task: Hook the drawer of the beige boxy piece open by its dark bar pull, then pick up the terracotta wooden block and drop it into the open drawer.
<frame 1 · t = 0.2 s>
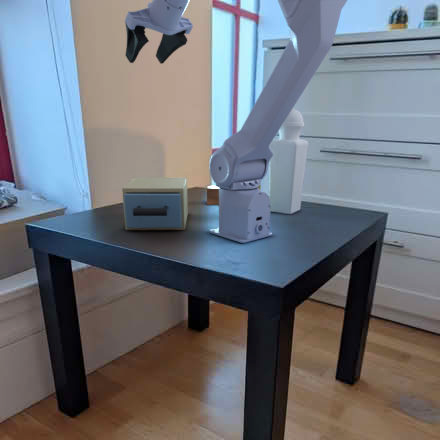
hand: (144, 59, 86), 31 cm above the table, tool tilted 45°, fingers open, 7 cm apart
block: (214, 203, 105), on the table
pill bottle: (245, 218, 92), on the table
beige boxy piece: (158, 221, 88), on the table
drawer: (155, 207, 83), point 4 cm above the table, slide at 0.5 cm
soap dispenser: (284, 211, 98), on the table
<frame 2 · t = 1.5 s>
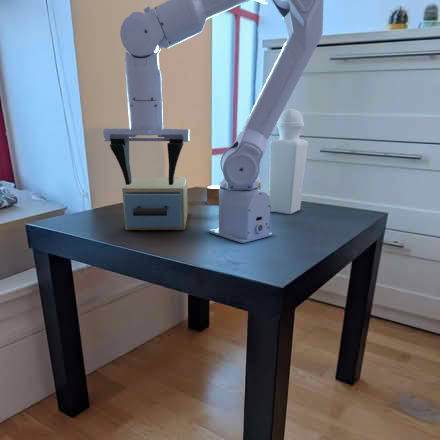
hand: (149, 183, 75), 9 cm above the table, tool pointing down, fingers open, 7 cm apart
nothing on the table moved.
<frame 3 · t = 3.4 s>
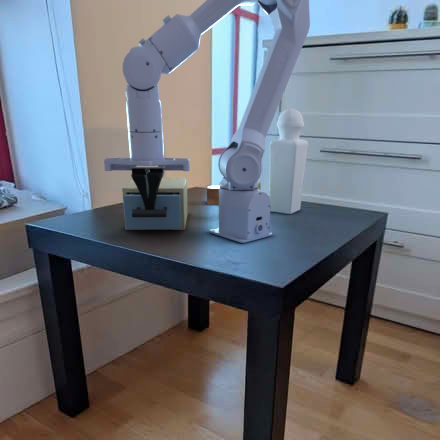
hand: (150, 211, 76), 5 cm above the table, tool pointing down, fingers closed, pressing on drawer
drawer: (154, 208, 82), point 4 cm above the table, slide at 1.6 cm, touching gripper
everything else where it was.
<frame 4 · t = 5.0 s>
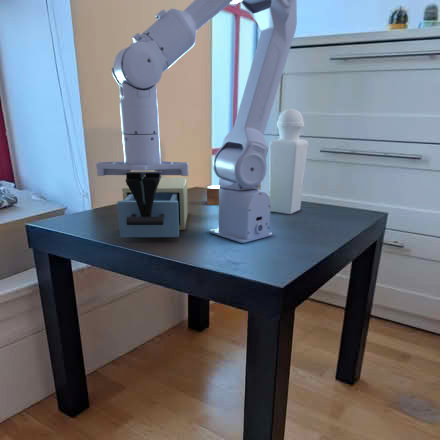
hand: (146, 219, 71), 5 cm above the table, tool pointing down, fingers closed, pressing on drawer
drawer: (151, 214, 77), point 4 cm above the table, slide at 7.0 cm, touching gripper
everything else where it was.
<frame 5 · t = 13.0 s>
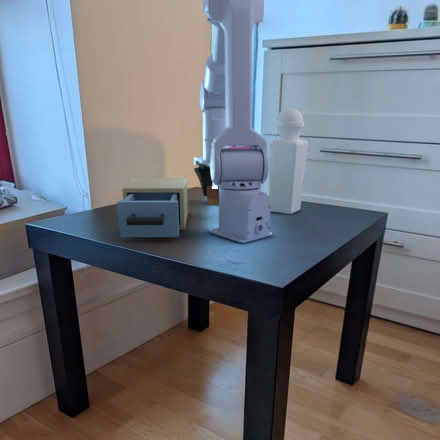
hand: (214, 197, 105), 1 cm above the table, tool pointing down, fingers closed on block, 5 cm apart
block: (214, 203, 105), on the table, touching gripper
drawer: (151, 214, 77), point 4 cm above the table, slide at 7.0 cm
everything else where it was.
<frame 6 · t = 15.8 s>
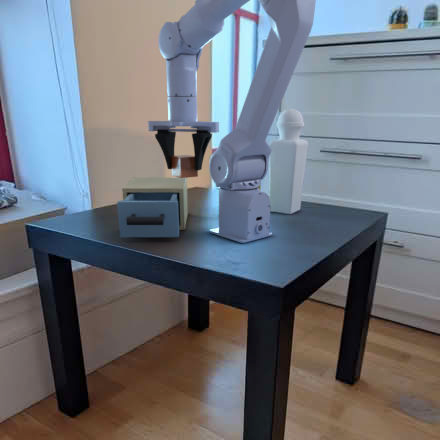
hand: (184, 169, 87), 10 cm above the table, tool pointing down, fingers closed on block, 5 cm apart
block: (184, 176, 87), point 9 cm above the table, touching gripper
everything else where it was.
when the fingers open (7 cm above the table, at t = 19.1 s): block stays where it is, resting on drawer.
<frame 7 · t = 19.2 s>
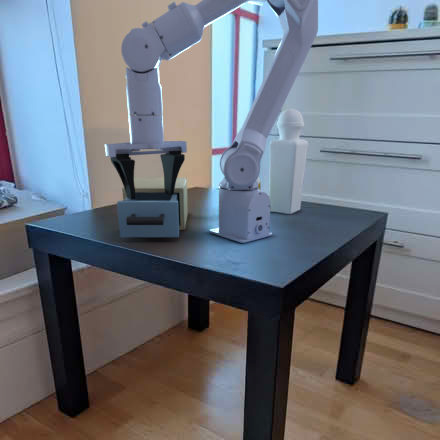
hand: (150, 196, 76), 7 cm above the table, tool pointing down, fingers open, 7 cm apart
block: (152, 224, 78), point 2 cm above the table, touching drawer
drawer: (151, 214, 77), point 4 cm above the table, slide at 7.0 cm, touching block
everything else where it was.
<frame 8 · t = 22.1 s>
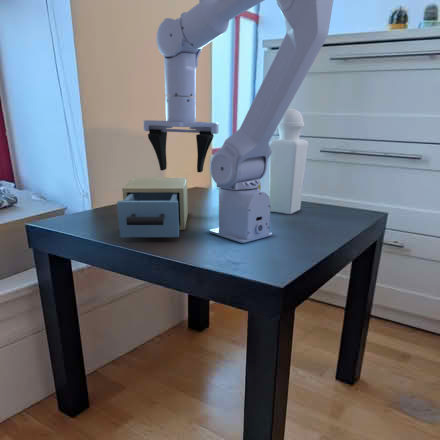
hand: (181, 170, 84), 10 cm above the table, tool pointing down, fingers open, 7 cm apart
nothing on the table moved.
at the end: drawer slide at 7.0 cm; block 0.3 cm from the target spot in the drawer, point 2.0 cm above the beige boxy piece's base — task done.
